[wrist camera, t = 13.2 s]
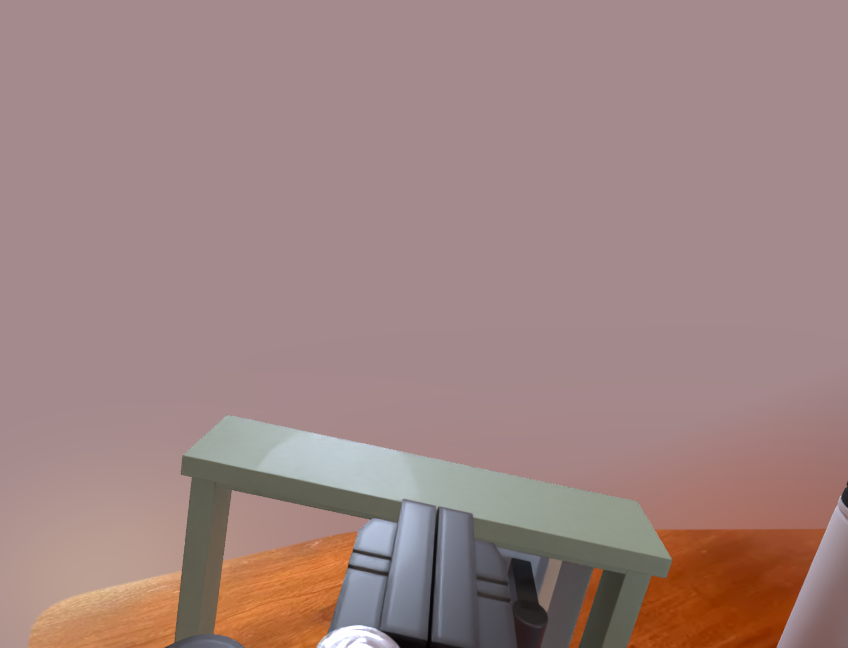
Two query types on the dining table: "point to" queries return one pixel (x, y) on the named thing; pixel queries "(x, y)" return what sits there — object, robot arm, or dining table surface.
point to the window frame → (432, 484)
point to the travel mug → (824, 591)
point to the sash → (530, 593)
